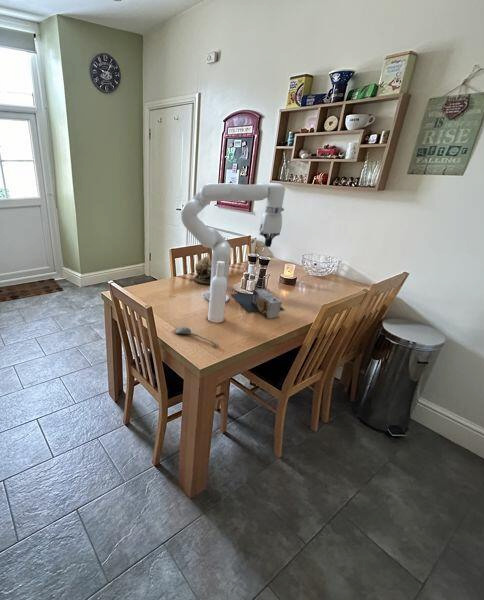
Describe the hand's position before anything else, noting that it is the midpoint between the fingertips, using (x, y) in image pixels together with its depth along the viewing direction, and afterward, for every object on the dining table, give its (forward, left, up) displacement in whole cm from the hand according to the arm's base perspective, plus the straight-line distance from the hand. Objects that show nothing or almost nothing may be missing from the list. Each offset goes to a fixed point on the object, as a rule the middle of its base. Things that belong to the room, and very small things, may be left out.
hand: (267, 246), depth 171 cm
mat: (-1, +2, -33) cm, 33 cm away
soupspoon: (-47, -32, -33) cm, 65 cm away
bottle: (-31, -15, -33) cm, 48 cm away
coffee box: (-1, -19, -28) cm, 34 cm away
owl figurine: (-19, +39, -33) cm, 54 cm away
